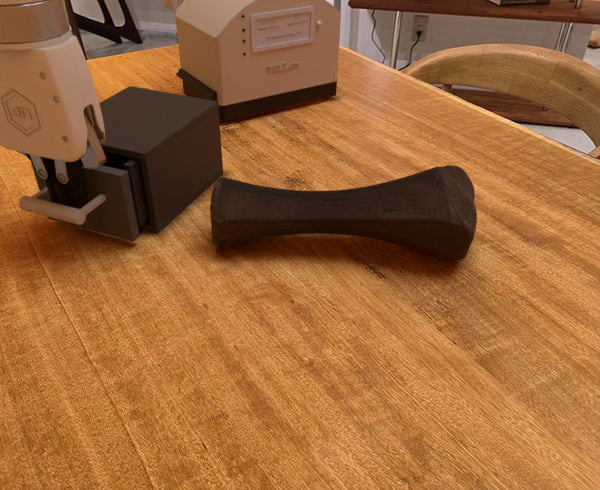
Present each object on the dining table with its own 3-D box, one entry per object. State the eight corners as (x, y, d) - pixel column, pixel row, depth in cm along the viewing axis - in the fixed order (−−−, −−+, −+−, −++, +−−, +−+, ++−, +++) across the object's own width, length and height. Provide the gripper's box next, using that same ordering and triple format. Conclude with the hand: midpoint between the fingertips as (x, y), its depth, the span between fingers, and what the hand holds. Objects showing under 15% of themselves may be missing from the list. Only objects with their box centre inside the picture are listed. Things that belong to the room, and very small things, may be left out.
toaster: (217, 129, 88) (208, 1, 77) (152, 79, 104) (137, -33, 93) (343, 99, 98) (350, -17, 87) (266, 58, 114) (264, -45, 103)
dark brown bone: (468, 253, 67) (227, 269, 70) (466, 159, 65) (218, 178, 68) (492, 266, 57) (206, 284, 59) (490, 154, 55) (195, 177, 57)
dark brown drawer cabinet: (157, 233, 66) (144, 153, 60) (66, 210, 69) (45, 132, 63) (223, 173, 77) (218, 101, 71) (141, 156, 81) (130, 85, 75)
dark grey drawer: (105, 267, 59) (88, 199, 54) (15, 242, 63) (-8, 175, 58) (201, 182, 73) (195, 121, 68) (124, 165, 77) (112, 106, 72)
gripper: (-84, 20, 49) (-12, 213, 60) (64, 42, 44) (110, 245, 56) (-15, 0, 54) (39, 181, 66) (122, 18, 50) (154, 207, 61)
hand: (71, 210), depth 61 cm, fingers closed
